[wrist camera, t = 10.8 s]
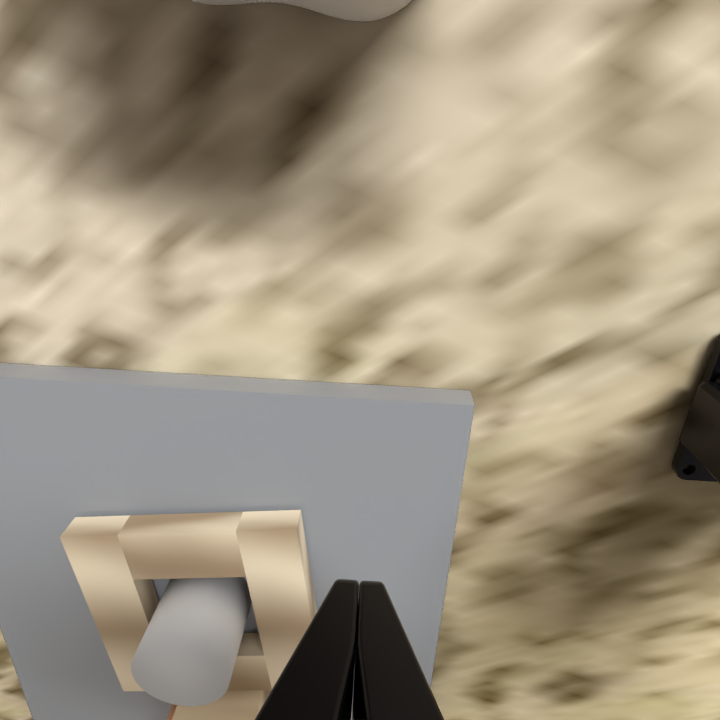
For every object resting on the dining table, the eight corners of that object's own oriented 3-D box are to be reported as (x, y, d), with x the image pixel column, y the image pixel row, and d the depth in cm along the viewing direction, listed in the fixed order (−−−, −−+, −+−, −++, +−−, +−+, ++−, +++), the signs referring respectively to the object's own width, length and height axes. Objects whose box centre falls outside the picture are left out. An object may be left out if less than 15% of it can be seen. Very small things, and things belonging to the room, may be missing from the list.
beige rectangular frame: (75, 517, 23) (24, 581, 19) (300, 509, 22) (286, 575, 19) (161, 738, 29) (134, 813, 26) (336, 738, 29) (331, 815, 25)
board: (469, 390, 21) (494, 469, 16) (419, 725, 30) (426, 837, 25) (-67, 359, 21) (-197, 426, 17) (45, 698, 30) (-17, 803, 26)
